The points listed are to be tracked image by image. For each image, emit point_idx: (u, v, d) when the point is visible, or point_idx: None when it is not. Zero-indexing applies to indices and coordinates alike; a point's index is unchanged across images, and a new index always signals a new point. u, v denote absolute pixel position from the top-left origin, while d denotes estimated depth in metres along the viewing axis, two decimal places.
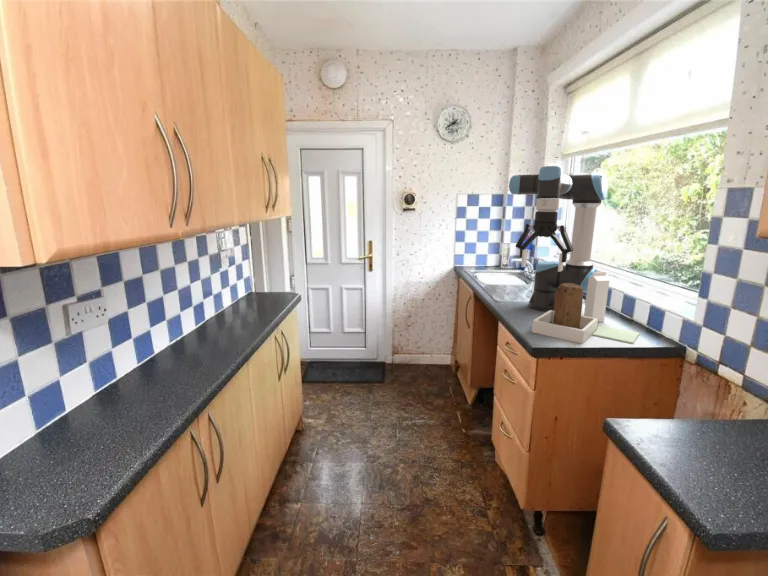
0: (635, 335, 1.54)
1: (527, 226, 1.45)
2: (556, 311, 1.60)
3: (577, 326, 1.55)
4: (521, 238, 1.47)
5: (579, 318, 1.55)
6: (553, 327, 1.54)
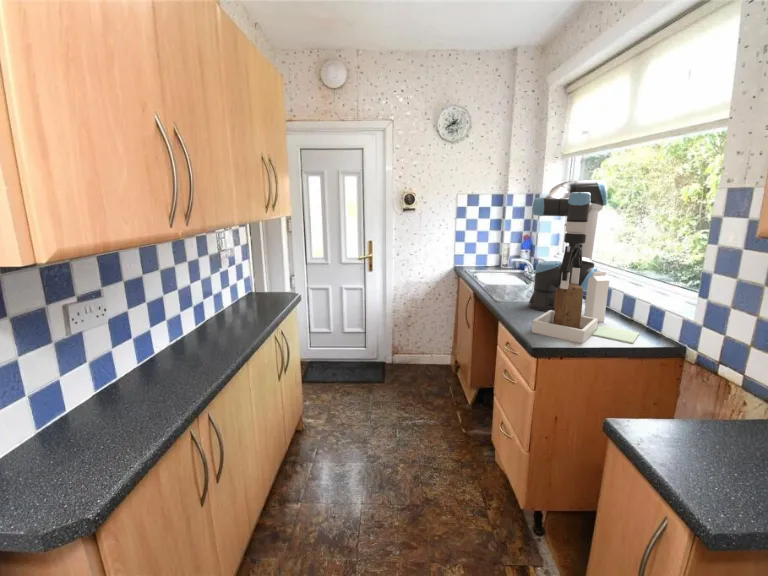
0: (635, 335, 1.54)
1: None
2: (556, 311, 1.60)
3: (577, 326, 1.55)
4: None
5: (579, 318, 1.55)
6: (553, 327, 1.54)
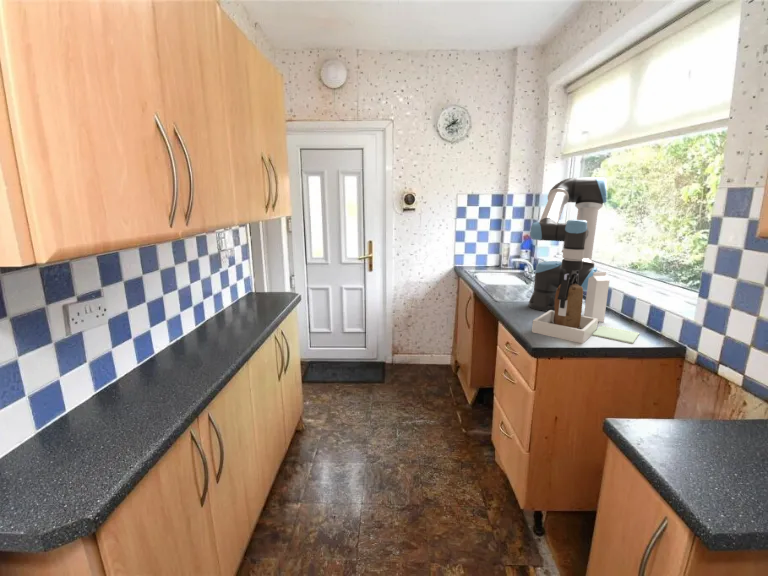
0: (635, 335, 1.54)
1: None
2: (556, 311, 1.60)
3: (577, 326, 1.55)
4: None
5: (579, 318, 1.55)
6: (553, 327, 1.54)
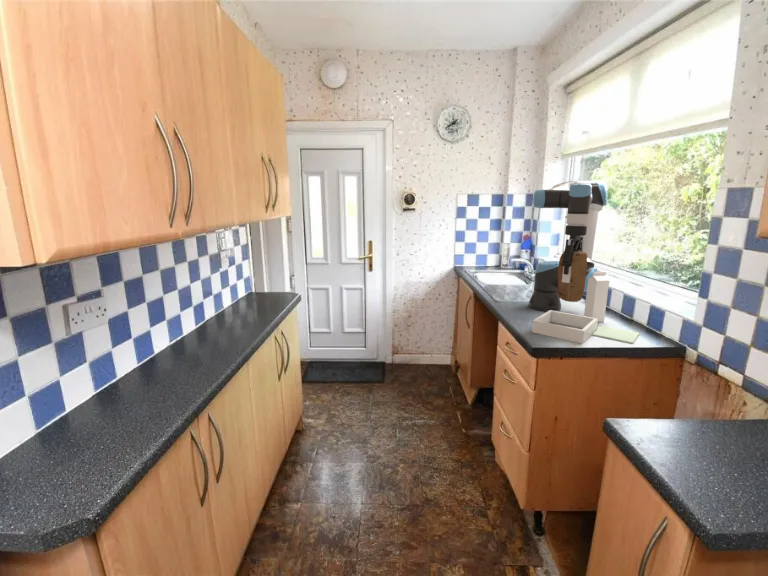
0: (635, 335, 1.54)
1: None
2: (560, 279, 1.57)
3: (581, 293, 1.53)
4: None
5: (583, 285, 1.52)
6: (553, 327, 1.54)
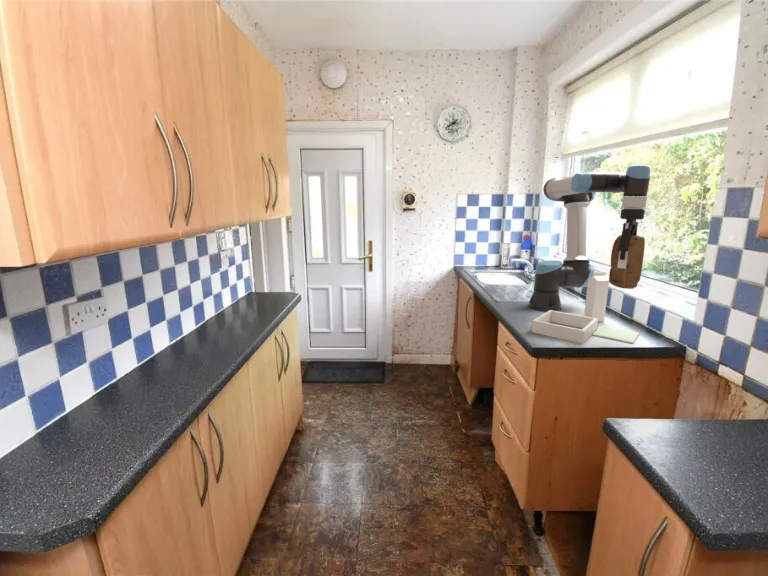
0: (635, 335, 1.54)
1: None
2: (613, 265, 1.51)
3: (637, 279, 1.47)
4: None
5: (640, 271, 1.46)
6: (553, 327, 1.54)
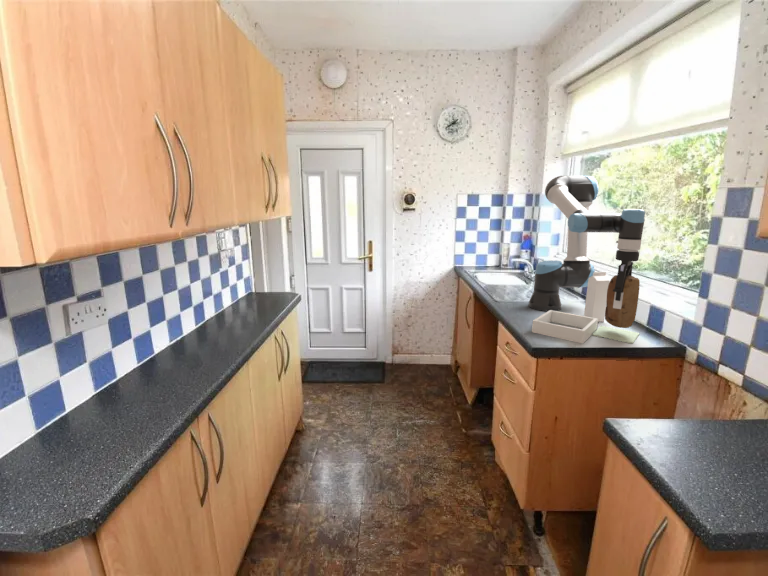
0: (635, 335, 1.54)
1: None
2: (609, 304, 1.55)
3: (632, 319, 1.50)
4: None
5: (635, 311, 1.49)
6: (553, 327, 1.54)
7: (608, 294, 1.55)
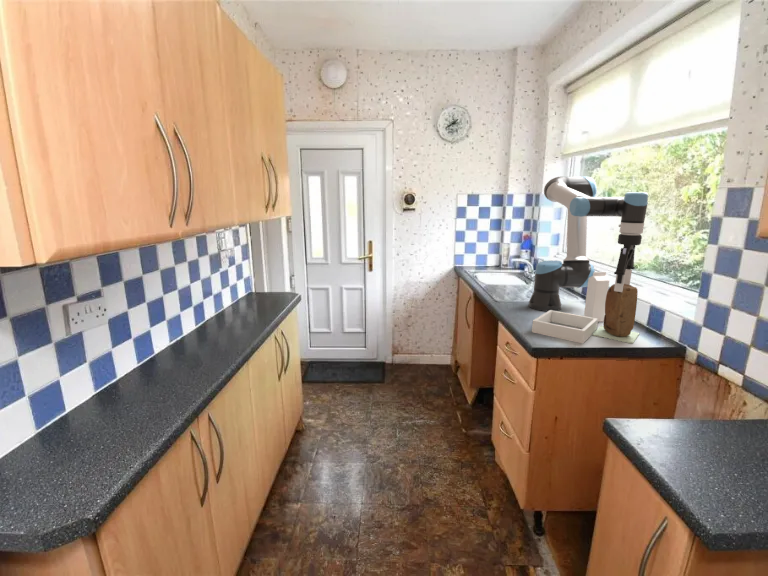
0: (635, 335, 1.54)
1: None
2: (607, 313, 1.56)
3: (631, 328, 1.51)
4: None
5: (633, 320, 1.50)
6: (553, 327, 1.54)
7: (606, 303, 1.56)
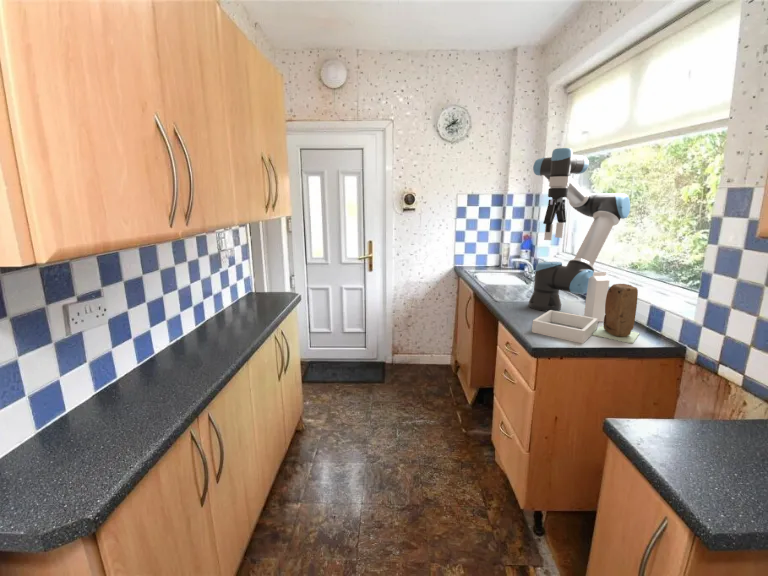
0: (635, 335, 1.54)
1: None
2: (608, 313, 1.56)
3: (631, 328, 1.51)
4: None
5: (633, 320, 1.50)
6: (553, 327, 1.54)
7: (606, 303, 1.56)
